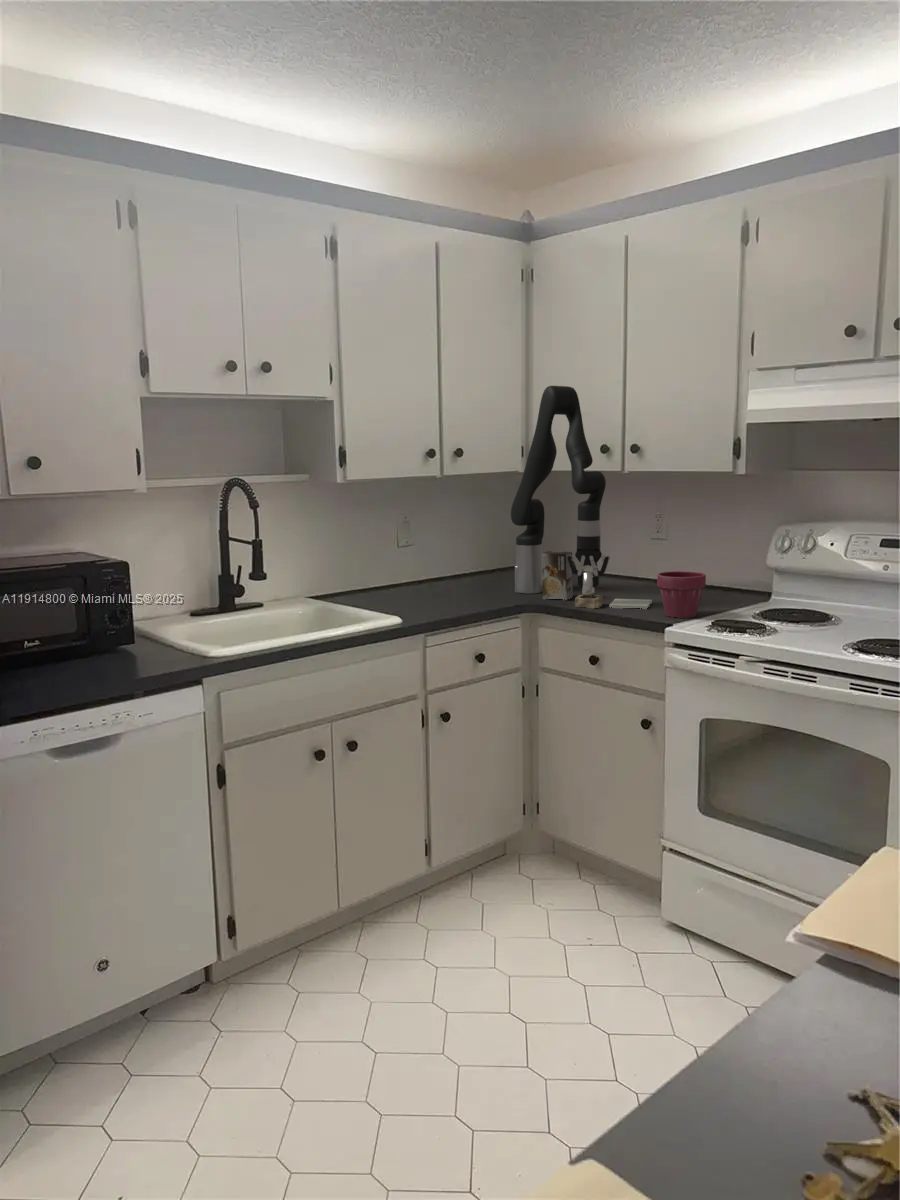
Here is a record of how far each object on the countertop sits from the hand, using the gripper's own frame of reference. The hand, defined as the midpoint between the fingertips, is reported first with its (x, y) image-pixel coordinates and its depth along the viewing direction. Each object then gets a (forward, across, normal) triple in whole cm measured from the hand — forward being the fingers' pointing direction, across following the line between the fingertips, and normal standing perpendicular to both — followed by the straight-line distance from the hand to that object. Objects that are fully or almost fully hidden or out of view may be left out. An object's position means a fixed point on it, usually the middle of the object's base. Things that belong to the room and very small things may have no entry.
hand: (588, 586), depth 288 cm
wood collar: (+6, 0, 0) cm, 6 cm away
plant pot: (+6, -30, +10) cm, 32 cm away
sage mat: (+6, -13, -4) cm, 15 cm away
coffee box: (+7, +13, -12) cm, 19 cm away
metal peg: (+5, 0, 0) cm, 5 cm away
